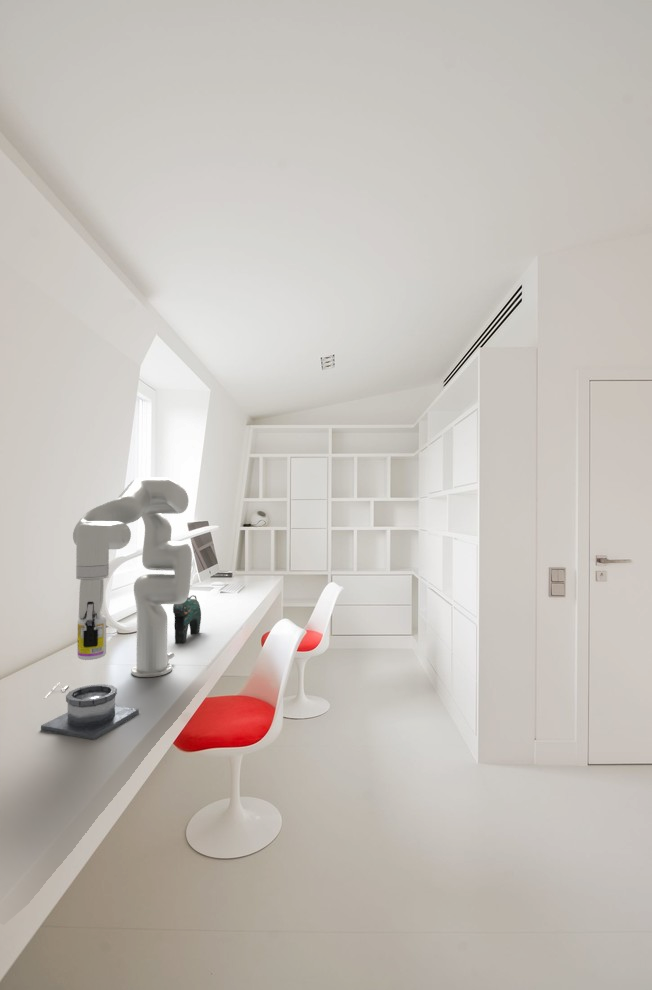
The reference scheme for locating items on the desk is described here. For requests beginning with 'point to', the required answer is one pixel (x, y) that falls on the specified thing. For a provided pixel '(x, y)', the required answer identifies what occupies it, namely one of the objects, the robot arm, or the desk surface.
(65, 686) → the picture light
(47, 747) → the desk surface
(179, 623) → the green elephant figurine
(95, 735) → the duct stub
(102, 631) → the supplement bottle
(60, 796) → the desk surface
